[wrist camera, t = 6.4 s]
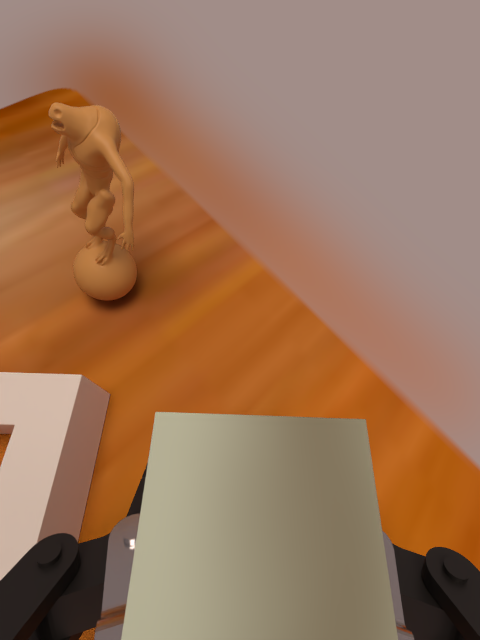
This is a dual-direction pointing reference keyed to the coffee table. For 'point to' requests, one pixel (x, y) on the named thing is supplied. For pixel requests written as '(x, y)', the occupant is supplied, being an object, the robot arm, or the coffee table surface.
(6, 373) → the white well block
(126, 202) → the figurine
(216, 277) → the coffee table surface
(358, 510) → the green metallic peg
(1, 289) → the coffee table surface
